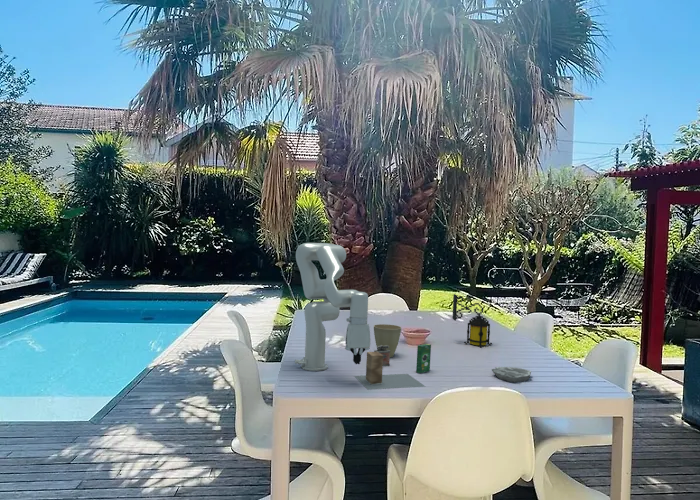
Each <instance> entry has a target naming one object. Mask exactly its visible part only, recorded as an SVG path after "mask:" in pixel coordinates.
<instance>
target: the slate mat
mask: <svg viewBox="0 0 700 500" xmlns="http://www.w3.org/2000/svg"><path fill="white" fill-rule="evenodd" d="M353 377H354V378H355V379H356V380H357V381H358V382H359V383H360V384H362V385H363V387H365V388H366V390H368V391H369V390H384V389H385V390H386V389H387V390H389V389H404V388H405V389H406V388H409V389H410V388H425V387H426V386H425V385H424V384H423V383H421V382H420V381H419V380H417V378H415V377H413V376H412V375H410V374H409V373H397V374H396V373H394V374H382V384H370V383H369V382H368V381H367V380H366V375H354V376H353Z"/></svg>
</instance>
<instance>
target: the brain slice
mask: <svg viewBox="0 0 700 500" xmlns="http://www.w3.org/2000/svg"><path fill="white" fill-rule="evenodd" d="M491 371H492V373H493V374H494V375H495V377H497V378H498V379H500V380H501V381H505V382H509V383H521V382H525V381H528V380H529V379H530V377H531V373H532V370H528V369H525V368H521V367H512V366H509V367H508V366H495V367H494V368H491Z"/></svg>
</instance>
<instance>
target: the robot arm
mask: <svg viewBox="0 0 700 500" xmlns="http://www.w3.org/2000/svg"><path fill="white" fill-rule="evenodd" d="M346 258H347V251H346V249H345V248H344V247H343V246H342V245H340V244H333V243H329V242H328V243H327V242H304V243H302V244H300V245H298V247H297V248H296V251H295V261H296V264H297V267H298V270H299V272H300V278H301V283H302V289H303V294H304V296H305V298H306V299H308V300H321V301H312V302H311V301H310V302H309V303H307V304H306V305H305V307H304V312H303V313H304V320H305V347H304V356H303V358H301V359H295V360H294V364H295V365H297V364H298V365H301V369H303V370H305V371H311V372H321V371H325V370H327V369H328V368H329V366H328V364H326V341H327V340H326V339H327V337H326V336H327V334H326V332H327V331H326V327H325V326H324V324H323V322H330V321H335V320H337V319H338V318H339V317H340V313H341V312H340V308H349V317H348V318H346V322H348V324H347V328H346V332H345V347H344V349H345V350H346V351H349V352H351V353H352V355H353V356H352V357H353V358H352V361H353V363H354V365H360V364H361V363H360V362H361V361H362V354H363V353H364V352H365V351H369V350H370V347H371V329H370V328H371V327H370V324H369V323H368V312H369V310H368V309H369V294H368V293H367V292H365V291H359V290H357V289H340V290H339V289H338V288H337V286H336V284H335V281H337V279H340V278H341V277H342V276H343V274H344V272H345V268H344V267H343V264H342V263H344V262H345V260H346ZM312 261H318V262H319V263H320V266H321V269H322V270H323V272H324V274H325V275H326V278H325V279H321V278H320V275H319V270H318V268H317V266H316V265H315V263H313V262H312ZM322 300H323V301H322Z"/></svg>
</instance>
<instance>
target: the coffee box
mask: <svg viewBox="0 0 700 500" xmlns="http://www.w3.org/2000/svg"><path fill="white" fill-rule="evenodd" d="M416 350H417V352H416V367H415V369H416V370H415V371H416V372H415V373H417V374H423V373H427V372H430V371H431V352H432V343H431V344H430V343H423V344H418V345H417V349H416Z"/></svg>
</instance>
